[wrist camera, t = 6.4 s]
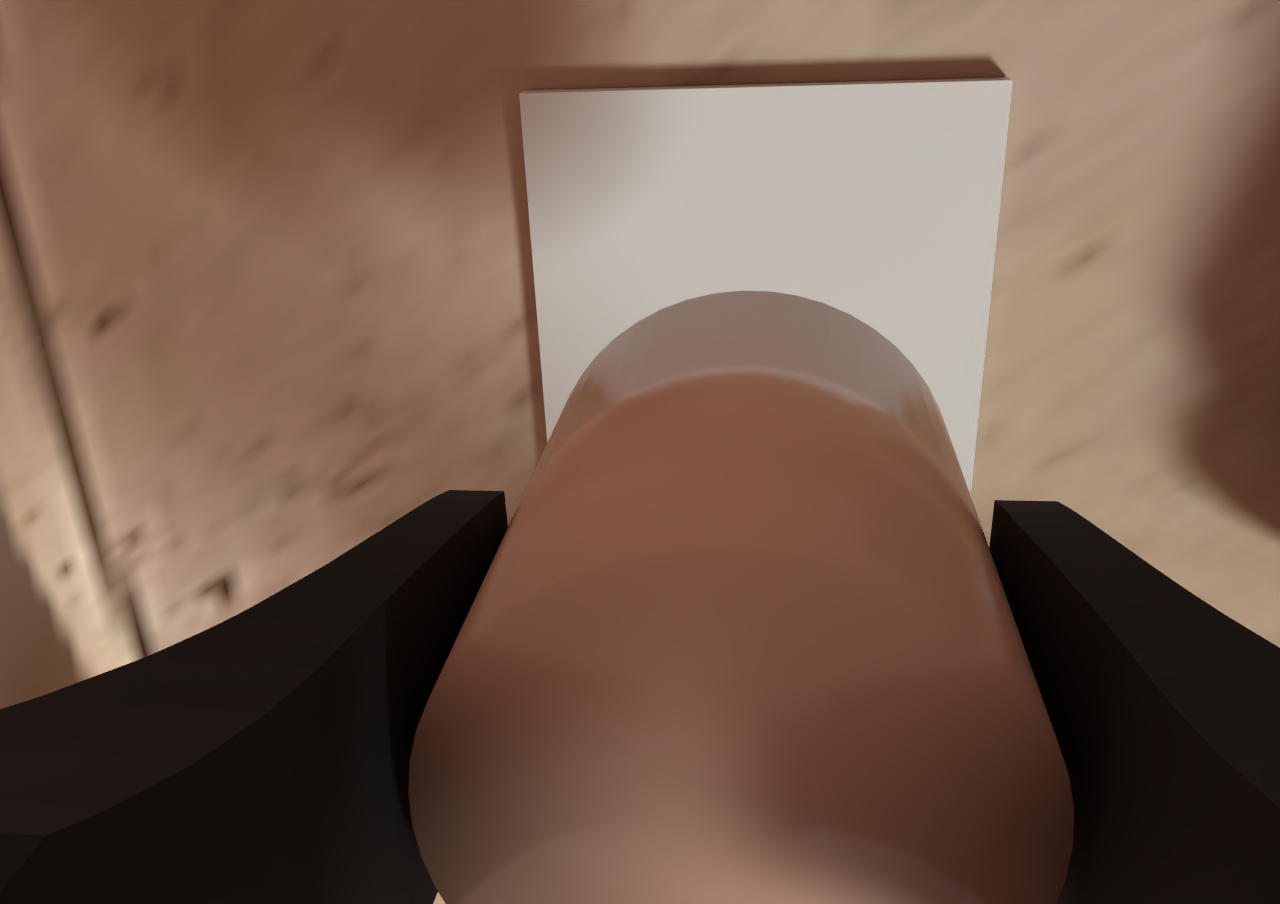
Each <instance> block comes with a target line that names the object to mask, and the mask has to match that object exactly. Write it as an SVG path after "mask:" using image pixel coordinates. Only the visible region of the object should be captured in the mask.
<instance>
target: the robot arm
mask: <svg viewBox="0 0 1280 904" xmlns="http://www.w3.org/2000/svg"><path fill="white" fill-rule="evenodd" d="M507 529H508V525H507V515H506V505H505V495H504V491H464V490H449V491H446V492H444V493H442V494H440V495H438V496H436V497H434V498H432V499H431V500H429V501H427V502H425V503H424V504H422V505H420V506H419V507H417V508H415V509H414V510H412V511H411V512H409V513H407V514H406V515H404V516H403V517H401V518H399V519H398V520H396V521H395V522H393V523H392V524H390V525H388V526H387V527H385V528H384V529H382V530H381V531H379V532H377V533H376V534H374V535H373V536H371V537H369V538H368V539H366V540H365V541H363V542H362V543H360V544H358V545H357V546H355V547H354V548H352V549H350V550H349V551H347V552H346V553H344V554H342V555H341V556H339V557H338V558H336V559H335V560H333V561H331V562H330V563H328V564H326V565H325V566H323V567H321V568H320V569H318V570H316V571H314V572H313V573H311V574H309V575H307V576H306V577H304V578H302V579H300V580H299V581H297V582H295V583H293V584H292V585H290V586H288V587H286V588H284V589H283V590H281V591H279V592H277V593H276V594H274V595H272V596H270V597H269V598H267V599H265V600H263V601H262V602H260V603H258V604H256V605H255V606H253V607H251V608H249V609H247V610H245V611H243V612H241V613H240V614H238V615H236V616H234V617H232V618H230V619H228V620H226V621H224V622H222V623H220V624H218V625H216V626H214V627H211V628H209V629H207V630H205V631H203V632H201V633H199V634H196V635H194V636H192V637H190V638H188V639H185V640H183V641H181V642H179V643H177V644H174V645H172V646H170V647H168V648H166V649H163V650H161V651H159V652H157V653H154V654H152V655H149V656H147V657H145V658H142V659H140V660H137V661H135V662H132V663H129V664H127V665H124V666H121V667H119V668H116V669H113V670H111V671H108V672H105V673H103V674H100V675H97V676H94V677H92V678H89V679H86V680H84V681H81V682H78V683H76V684H73V685H70V686H68V687H65V688H62V689H60V690H57V691H54V692H52V693H49V694H46V695H44V696H41V697H38V698H35V699H31V700H29V701H25V702H22V703H19V704H16V705H13V706H9V707H6V708H3V709H0V904H433V902H434V900H435V897H436V895H437V892H438V890H437V889H436V887H435V885H434V883H433V881H432V879H431V877H430V874H429V872H428V870H427V868H426V866H425V864H424V861H423V859H422V857H421V854H420V850H419V847H418V843H417V840H416V836H415V833H414V830H413V826H412V819H411V811H410V803H409V795H408V790H409V763H410V757H411V753H412V748H413V743H414V738H415V734H416V729H417V727H418V724H419V722H420V719H421V717H422V714H423V712H424V709H425V707H426V704H427V702H428V699H429V697H430V695H431V693H432V690H433V688H434V686H435V684H436V682H437V680H438V678H439V675H440V673H441V671H442V669H443V667H444V665H445V662H446V660H447V658H448V656H449V654H450V652H451V650H452V647H453V645H454V643H455V641H456V639H457V637H458V634H459V632H460V630H461V628H462V626H463V624H464V622H465V619H466V617H467V615H468V613H469V611H470V609H471V606H472V604H473V602H474V600H475V598H476V596H477V594H478V591H479V589H480V587H481V585H482V583H483V581H484V578H485V576H486V574H487V572H488V570H489V568H490V566H491V563H492V561H493V559H494V557H495V555H496V553H497V550H498V548H499V546H500V544H501V542H502V540H503V538H504V535H505V533H506V531H507ZM989 549H990V552H991V555H992V558H993V561H994V563H995V566H996V569H997V572H998V575H999V577H1000V580H1001V583H1002V586H1003V589H1004V592H1005V594H1006V597H1007V600H1008V603H1009V606H1010V609H1011V611H1012V614H1013V617H1014V620H1015V623H1016V625H1017V628H1018V631H1019V634H1020V637H1021V640H1022V642H1023V645H1024V648H1025V651H1026V654H1027V656H1028V659H1029V662H1030V665H1031V668H1032V671H1033V673H1034V676H1035V679H1036V682H1037V685H1038V688H1039V690H1040V693H1041V696H1042V699H1043V702H1044V704H1045V707H1046V710H1047V713H1048V716H1049V719H1050V721H1051V724H1052V727H1053V730H1054V733H1055V735H1056V738H1057V741H1058V744H1059V747H1060V750H1061V753H1062V756H1063V759H1064V762H1065V765H1066V768H1067V771H1068V774H1069V779H1070V786H1071V793H1072V800H1073V806H1074V832H1073V848H1072V853H1071V857H1070V862H1069V867H1068V871H1067V876H1066V880H1065V882H1064V885H1063V887H1062V890H1061V892H1060V894H1059V897H1058V899H1057V902H1056V904H1280V648H1279V647H1277V646H1276V645H1274V644H1272V643H1271V642H1269V641H1267V640H1266V639H1264V638H1262V637H1261V636H1259V635H1257V634H1256V633H1254V632H1252V631H1251V630H1249V629H1247V628H1246V627H1244V626H1242V625H1241V624H1239V623H1238V622H1236V621H1234V620H1233V619H1231V618H1229V617H1228V616H1226V615H1224V614H1223V613H1221V612H1220V611H1218V610H1217V609H1215V608H1214V607H1212V606H1211V605H1209V604H1207V603H1206V602H1204V601H1203V600H1201V599H1200V598H1198V597H1197V596H1195V595H1194V594H1192V593H1191V592H1189V591H1188V590H1186V589H1185V588H1183V587H1182V586H1180V585H1179V584H1177V583H1176V582H1174V581H1173V580H1171V579H1170V578H1169V577H1167V576H1166V575H1164V574H1163V573H1161V572H1160V571H1158V570H1157V569H1156V568H1154V567H1153V566H1151V565H1150V564H1148V563H1147V562H1146V561H1144V560H1143V559H1141V558H1140V557H1138V556H1137V555H1136V554H1134V553H1133V552H1131V551H1130V550H1129V549H1127V548H1126V547H1124V546H1123V545H1122V544H1120V543H1119V542H1117V541H1116V540H1115V539H1113V538H1112V537H1110V536H1109V535H1108V534H1106V533H1105V532H1103V531H1102V530H1101V529H1099V528H1098V527H1096V526H1095V525H1094V524H1092V523H1091V522H1089V521H1088V520H1086V519H1085V518H1083V517H1082V516H1080V515H1079V514H1078V513H1076V512H1074V511H1073V510H1071V509H1070V508H1068V507H1066V506H1065V505H1063V504H1061V503H1059V502H1056V501H1002V500H995V503H994V511H993V520H992V529H991V538H990V547H989Z"/></svg>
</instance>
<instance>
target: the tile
mask: <svg viewBox="0 0 1280 904" xmlns="http://www.w3.org/2000/svg"><path fill="white" fill-rule="evenodd" d="M1012 83H1013V80H1012V79H1010V78H1008V77H1007V78H970V79H933V80H896V81H859V82H822V83H785V84H748V85H711V86H674V87H637V88H600V89H563V90H526V91H522V92H521V93H519V100H520V112H521V124H522V137H523V149H524V161H525V174H526V186H527V198H528V211H529V223H530V235H531V248H532V260H533V272H534V285H535V297H536V309H537V322H538V334H539V346H540V359H541V371H542V383H543V396H544V408H545V420H546V433H547V443H548V441H549V438H550V436H551V434H552V432H553V430H554V428H555V426H556V423H557V421H558V419H559V417H560V415H561V413H562V410H563V408H564V406H565V404H566V402H567V400H568V398H569V395H570V394H571V392H572V390H573V389H574V387H575V385H576V383H577V382H578V380H579V378H580V377H581V375H582V373H583V372H584V371H585V370H586V368H587V367H588V366H589V365H590V363H591V362H592V361H593V360H594V358H595V357H596V356H597V355H598V354H599V353H600V352H601V351H602V350H603V349H604V348H605V347H606V346H607V345H608V344H609V343H610V342H611V341H612V340H613V339H615V338H616V337H617V336H618V335H620V334H621V333H622V332H624V331H625V330H627V329H628V328H629V327H631V326H632V325H634V324H635V323H636V322H638V321H640V320H642V319H644V318H646V317H647V316H649V315H651V314H653V313H655V312H657V311H659V310H661V309H663V308H666V307H669V306H671V305H674V304H677V303H679V302H682V301H685V300H688V299H692V298H696V297H701V296H705V295H709V294H714V293H724V292H733V291H770V292H777V293H783V294H790V295H797V296H801V297H804V298H807V299H811V300H814V301H818V302H821V303H825V304H827V305H829V306H832V307H834V308H836V309H839V310H841V311H843V312H846V313H848V314H850V315H852V316H854V317H855V318H857V319H859V320H860V321H862V322H864V323H865V324H867V325H869V326H870V327H872V328H874V329H875V330H876V331H877V332H879V333H880V334H881V335H882V336H884V337H885V338H886V339H887V340H889V341H890V342H891V343H892V344H894V345H895V346H896V347H897V348H898V349H899V350H900V351H901V352H902V353H903V355H904V356H905V357H906V358H907V359H908V360H909V361H910V362H911V363H912V364H913V365H914V367H915V368H916V369H917V371H918V372H919V374H920V375H921V377H922V378H923V379H924V381H925V382H926V384H927V385H928V387H929V389H930V391H931V393H932V394H933V396H934V398H935V400H936V402H937V404H938V406H939V408H940V411H941V414H942V417H943V419H944V422H945V425H946V428H947V431H948V434H949V436H950V439H951V442H952V445H953V448H954V450H955V453H956V456H957V459H958V462H959V465H960V467H961V470H962V473H963V476H964V479H965V482H966V484H967V487H968V490H969V493H970V496H971V486H972V477H973V467H974V457H975V447H976V437H977V427H978V418H979V408H980V398H981V388H982V378H983V368H984V359H985V349H986V339H987V329H988V319H989V309H990V300H991V290H992V280H993V270H994V260H995V250H996V240H997V231H998V221H999V211H1000V201H1001V191H1002V181H1003V172H1004V162H1005V152H1006V142H1007V132H1008V122H1009V113H1010V103H1011V93H1012Z"/></svg>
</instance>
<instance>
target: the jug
mask: <svg viewBox="0 0 1280 904" xmlns="http://www.w3.org/2000/svg"><path fill="white" fill-rule="evenodd" d="M408 795H409V803H410V811H411V819H412V826H413V830H414V833H415V836H416V840H417V843H418V847H419V850H420V854H421V857H422V859H423V861H424V864H425V866H426V868H427V870H428V872H429V874H430V877H431V879H432V881H433V883H434V885H435V887H436V889H437V890H438V892H439V894H440V895H441V897H442V898H443V900H444V901H445V903H446V904H1056V902H1057V899H1058V897H1059V894H1060V892H1061V890H1062V887H1063V885H1064V882H1065V880H1066V876H1067V871H1068V867H1069V862H1070V857H1071V853H1072V848H1073V832H1074V806H1073V800H1072V793H1071V786H1070V779H1069V774H1068V771H1067V768H1066V765H1065V762H1064V759H1063V756H1062V753H1061V750H1060V747H1059V744H1058V741H1057V738H1056V735H1055V733H1054V730H1053V727H1052V724H1051V721H1050V719H1049V716H1048V713H1047V710H1046V707H1045V704H1044V702H1043V699H1042V696H1041V693H1040V690H1039V688H1038V685H1037V682H1036V679H1035V676H1034V673H1033V671H1032V668H1031V665H1030V662H1029V659H1028V656H1027V654H1026V651H1025V648H1024V645H1023V642H1022V640H1021V637H1020V634H1019V631H1018V628H1017V625H1016V623H1015V620H1014V617H1013V614H1012V611H1011V609H1010V606H1009V603H1008V600H1007V597H1006V594H1005V592H1004V589H1003V586H1002V583H1001V580H1000V577H999V575H998V572H997V569H996V566H995V563H994V561H993V558H992V555H991V552H990V549H989V546H988V544H987V541H986V538H985V535H984V532H983V529H982V527H981V524H980V521H979V518H978V515H977V513H976V510H975V507H974V504H973V501H972V498H971V496H970V493H969V490H968V487H967V484H966V482H965V479H964V476H963V473H962V470H961V467H960V465H959V462H958V459H957V456H956V453H955V450H954V448H953V445H952V442H951V439H950V436H949V434H948V431H947V428H946V425H945V422H944V419H943V417H942V414H941V411H940V408H939V406H938V404H937V402H936V400H935V398H934V396H933V394H932V393H931V391H930V389H929V387H928V385H927V384H926V382H925V381H924V379H923V378H922V377H921V375H920V374H919V372H918V371H917V369H916V368H915V367H914V365H913V364H912V363H911V362H910V361H909V360H908V359H907V358H906V357H905V356H904V355H903V353H902V352H901V351H900V350H899V349H898V348H897V347H896V346H895V345H894V344H892V343H891V342H890V341H889V340H887V339H886V338H885V337H884V336H882V335H881V334H880V333H879V332H877V331H876V330H875V329H874V328H872V327H870V326H869V325H867V324H865V323H864V322H862V321H860V320H859V319H857V318H855V317H854V316H852V315H850V314H848V313H846V312H843V311H841V310H839V309H836V308H834V307H832V306H829V305H827V304H825V303H821V302H818V301H814V300H811V299H807V298H804V297H801V296H797V295H790V294H783V293H777V292H770V291H733V292H724V293H714V294H709V295H705V296H701V297H696V298H692V299H688V300H685V301H682V302H679V303H677V304H674V305H671V306H669V307H666V308H663V309H661V310H659V311H657V312H655V313H653V314H651V315H649V316H647V317H646V318H644V319H642V320H640V321H638V322H636V323H635V324H634V325H632V326H631V327H629V328H628V329H627V330H625V331H624V332H622V333H621V334H620V335H618V336H617V337H616V338H615V339H613V340H612V341H611V342H610V343H609V344H608V345H607V346H606V347H605V348H604V349H603V350H602V351H601V352H600V353H599V354H598V355H597V356H596V357H595V358H594V360H593V361H592V362H591V363H590V365H589V366H588V367H587V368H586V370H585V371H584V372H583V373H582V375H581V377H580V378H579V380H578V382H577V383H576V385H575V387H574V389H573V390H572V392H571V394H570V395H569V398H568V400H567V402H566V404H565V406H564V408H563V410H562V413H561V415H560V417H559V419H558V421H557V423H556V426H555V428H554V430H553V432H552V434H551V436H550V438H549V441H548V443H547V445H546V447H545V449H544V451H543V454H542V456H541V458H540V460H539V462H538V464H537V466H536V469H535V471H534V473H533V475H532V477H531V479H530V482H529V484H528V486H527V488H526V490H525V492H524V494H523V497H522V499H521V501H520V503H519V505H518V507H517V510H516V512H515V514H514V516H513V518H512V520H511V522H510V525H509V527H508V529H507V531H506V533H505V535H504V538H503V540H502V542H501V544H500V546H499V548H498V550H497V553H496V555H495V557H494V559H493V561H492V563H491V566H490V568H489V570H488V572H487V574H486V576H485V578H484V581H483V583H482V585H481V587H480V589H479V591H478V594H477V596H476V598H475V600H474V602H473V604H472V606H471V609H470V611H469V613H468V615H467V617H466V619H465V622H464V624H463V626H462V628H461V630H460V632H459V634H458V637H457V639H456V641H455V643H454V645H453V647H452V650H451V652H450V654H449V656H448V658H447V660H446V662H445V665H444V667H443V669H442V671H441V673H440V675H439V678H438V680H437V682H436V684H435V686H434V688H433V690H432V693H431V695H430V697H429V699H428V702H427V704H426V707H425V709H424V712H423V714H422V717H421V719H420V722H419V724H418V727H417V729H416V734H415V738H414V743H413V748H412V753H411V757H410V763H409V790H408Z"/></svg>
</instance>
